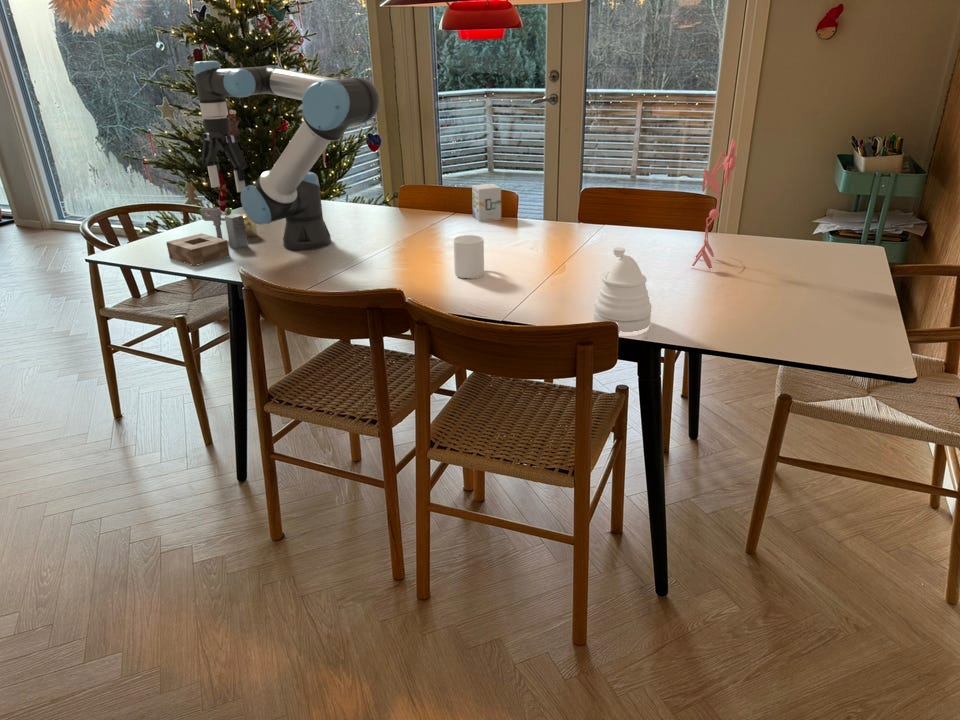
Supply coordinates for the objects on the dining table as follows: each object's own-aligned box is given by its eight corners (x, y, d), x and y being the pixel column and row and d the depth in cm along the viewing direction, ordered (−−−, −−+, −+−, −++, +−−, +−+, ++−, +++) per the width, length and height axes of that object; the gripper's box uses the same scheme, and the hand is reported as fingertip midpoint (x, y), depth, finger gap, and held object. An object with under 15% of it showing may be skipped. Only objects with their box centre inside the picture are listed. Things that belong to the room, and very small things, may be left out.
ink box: (472, 216, 256) (471, 184, 250) (494, 214, 258) (494, 182, 253) (479, 222, 248) (478, 189, 243) (501, 219, 250) (501, 187, 245)
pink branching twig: (683, 276, 191) (702, 145, 176) (694, 251, 213) (712, 131, 197) (742, 284, 186) (767, 149, 171) (747, 257, 208) (770, 135, 192)
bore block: (229, 256, 215) (226, 240, 213) (194, 266, 207) (191, 249, 205) (204, 248, 223) (201, 233, 221) (169, 257, 215) (166, 241, 213)
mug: (469, 265, 204) (469, 230, 200) (495, 268, 200) (494, 233, 196) (449, 277, 194) (447, 241, 190) (475, 281, 191) (474, 244, 186)
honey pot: (583, 327, 161) (587, 252, 153) (609, 311, 170) (615, 239, 162) (633, 341, 153) (640, 262, 146) (659, 323, 163) (666, 248, 155)
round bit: (261, 235, 236) (257, 215, 233) (245, 239, 232) (242, 219, 229) (250, 233, 240) (247, 212, 237) (235, 236, 236) (231, 216, 232)
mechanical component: (233, 239, 233) (228, 209, 229) (203, 239, 233) (197, 209, 229) (236, 236, 236) (231, 207, 231) (206, 237, 236) (200, 207, 232)
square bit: (247, 246, 225) (242, 215, 221) (237, 249, 223) (231, 218, 218) (240, 244, 228) (235, 213, 223) (230, 246, 225) (224, 216, 220)
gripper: (251, 118, 203) (263, 191, 212) (202, 114, 217) (215, 183, 226) (229, 120, 198) (242, 195, 207) (180, 116, 212) (194, 187, 221)
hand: (228, 189), depth 217 cm, fingers open, 13 cm apart
